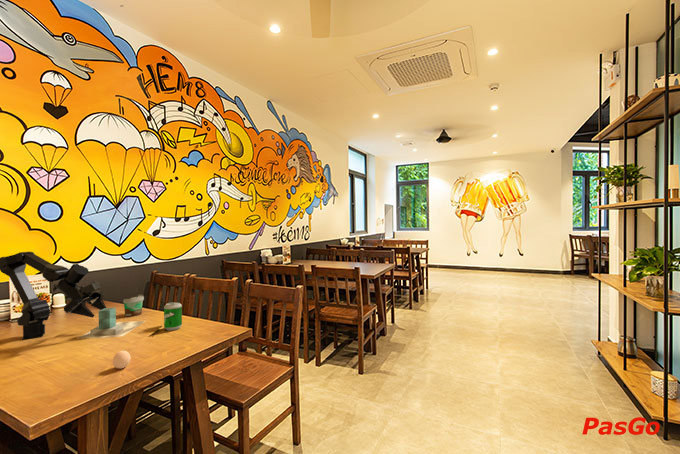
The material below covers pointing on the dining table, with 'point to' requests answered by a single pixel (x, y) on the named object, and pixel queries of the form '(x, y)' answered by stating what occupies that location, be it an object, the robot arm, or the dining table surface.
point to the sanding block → (107, 323)
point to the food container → (133, 306)
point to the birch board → (127, 328)
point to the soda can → (172, 316)
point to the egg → (121, 359)
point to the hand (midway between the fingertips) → (100, 313)
